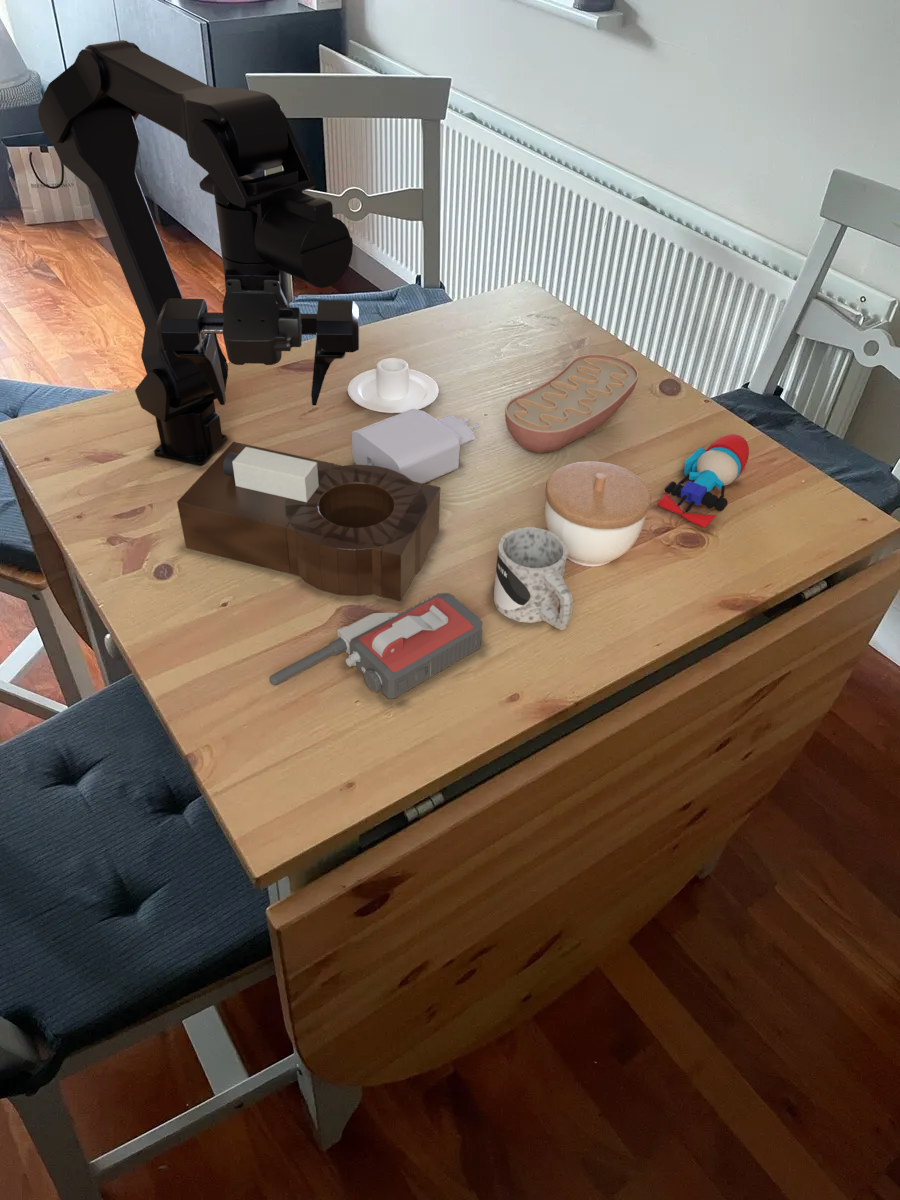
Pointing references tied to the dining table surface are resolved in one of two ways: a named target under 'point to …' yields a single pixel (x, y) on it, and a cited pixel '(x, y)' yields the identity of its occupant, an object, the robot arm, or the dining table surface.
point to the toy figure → (708, 477)
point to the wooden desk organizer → (319, 526)
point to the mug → (532, 577)
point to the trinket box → (596, 510)
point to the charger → (413, 444)
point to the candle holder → (393, 388)
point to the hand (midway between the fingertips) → (269, 403)
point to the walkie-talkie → (401, 645)
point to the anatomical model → (570, 402)
